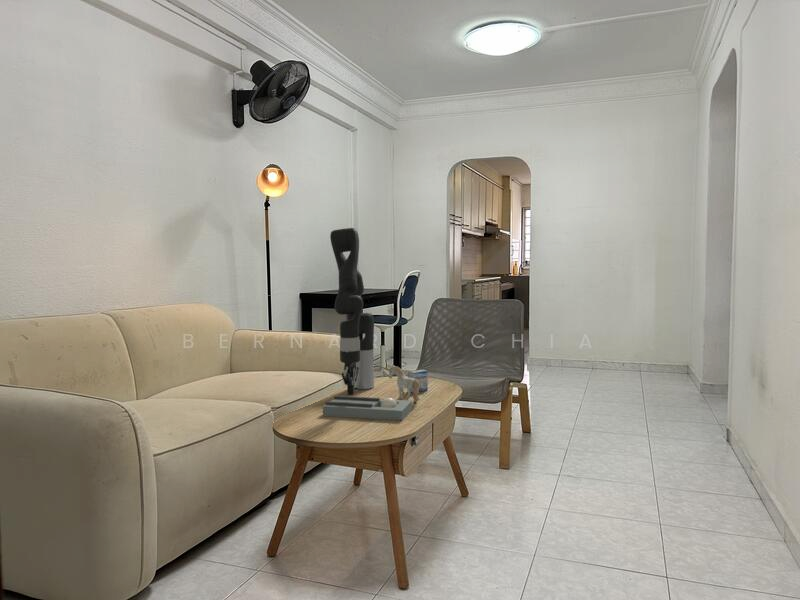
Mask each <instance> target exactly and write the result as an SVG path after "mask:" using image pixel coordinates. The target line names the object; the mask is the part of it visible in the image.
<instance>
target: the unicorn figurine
mask: <svg viewBox="0 0 800 600" xmlns="http://www.w3.org/2000/svg"><path fill="white" fill-rule="evenodd" d="M379 368H380V369H381V368H382V369H384V370H386V371H388V379H392V378H393V376H395V374H396V376H397V379H396V385H397V387H398V393H399V394H398V395H399V396H398V397H397V400H403V399H404V400H408V401H409V399H410V396H411V393H412V398H413V400H412V403H414V402H415V403H418V402H419V401H420V399H419V393H420V392H419V386H420V385H419V382H418V381H417V380H416V379H414V378H408V376H406V374H405V372H404V370H403V368H400V367H399V366H398V365H397V366H396V365H393V366H389V368H387V367H383V366H379ZM411 388H413V392H410V390H411ZM404 389H406V390H407V395H406V392H405V391H404Z"/></svg>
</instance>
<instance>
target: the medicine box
mask: <svg viewBox="0 0 800 600" xmlns="http://www.w3.org/2000/svg"><path fill="white" fill-rule="evenodd" d="M428 374H429V373H428V370H426V369H417V370H412V371H407V377H408V378H414V379H416V380H417V381H418V382H419V385H420V386H419V391H421V392H424V391H423V390H426V391H428V390H429V375H428ZM427 389H428V390H427ZM410 391H411V393H413V388H411V390H410Z"/></svg>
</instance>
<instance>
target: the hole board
mask: <svg viewBox="0 0 800 600" xmlns="http://www.w3.org/2000/svg"><path fill="white" fill-rule="evenodd" d="M384 399H385V398H384ZM384 399H383V398H380V397H369V396H368V397H366V396H352V395H347V396H346V395H334V396H333V399H331V400H330V401H328V400H326V401H325V402H324V403H325V404H324V405H322V416H324V417H335V418H337V417H338V418H355V419H356V418H357V419H368V418H369V420H370V419H371V420H372V419H373V420H384V419H388V421H400V420H402V421H404V419H406V417H407V416H408V415H409V414H410V413H411V412H410V411H411V410H413V400H409V399H408V400H405V399H402V400H398V399H394V400H395V401H396V403H397V405H396V406H395V407H394V408H389V407H381V402H382V401H383V400H384ZM409 412H410V413H409Z"/></svg>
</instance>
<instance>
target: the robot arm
mask: <svg viewBox="0 0 800 600" xmlns="http://www.w3.org/2000/svg"><path fill="white" fill-rule="evenodd" d="M330 244H331V247H332V251H333V254H334V258H335V263H336V265H337V270H338V291H337V296H336V298H335V300H334V301H335V302H334V311H335V312H336V313H337V314H338V315H346V316H347V319H346V320H343V321H341V322H340V324H339V337H340V338H339V361H340V363H343V364H344V367H343V372H342V373H341V377H342V380H343V383H344V385H346V388H347V396H353V395H354V394H355V388H357V389H356V390H371V389H373V388H375V369H374V368H375V367H374V366H375V364H374V363H375V362H374V356H375V355H374V354H375V353H374V339H375V334H374V333H375V331H374V330H375V319H374V315H373V313H371V312H363V308H364V301H363V297H362V295H363V293H364V291H365V286H364V281H363V276H362V274H361V272H360V271H359V270H358V265H359V264H358V262H359V253H360V237H359V232H358V230H357V228H355V227H348V228H347V227H346V228H340V229H333V230H332V231H330ZM346 252H349V255H348V257H346V256H345V254H344V253H346ZM360 335H364V337H363V338H362V339H360ZM370 388H371V389H370Z"/></svg>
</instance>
